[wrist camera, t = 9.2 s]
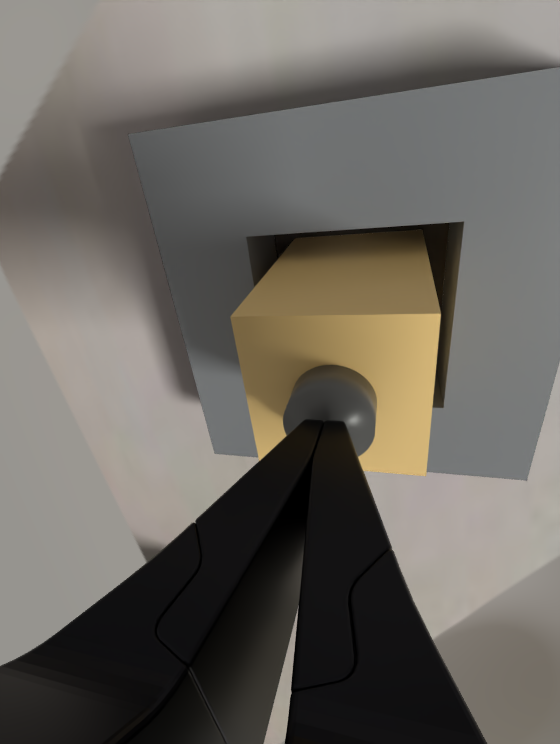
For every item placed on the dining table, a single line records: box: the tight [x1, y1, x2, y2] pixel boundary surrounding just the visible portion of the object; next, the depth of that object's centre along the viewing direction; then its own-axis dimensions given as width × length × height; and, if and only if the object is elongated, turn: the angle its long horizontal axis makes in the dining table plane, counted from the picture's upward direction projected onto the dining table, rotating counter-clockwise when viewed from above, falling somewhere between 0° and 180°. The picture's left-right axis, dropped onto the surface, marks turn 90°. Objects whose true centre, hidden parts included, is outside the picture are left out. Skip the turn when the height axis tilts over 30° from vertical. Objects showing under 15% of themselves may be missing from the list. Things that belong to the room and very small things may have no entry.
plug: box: [230, 230, 441, 476], centre depth 12 cm, size 4×4×8 cm
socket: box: [128, 67, 560, 480], centre depth 14 cm, size 12×12×3 cm
